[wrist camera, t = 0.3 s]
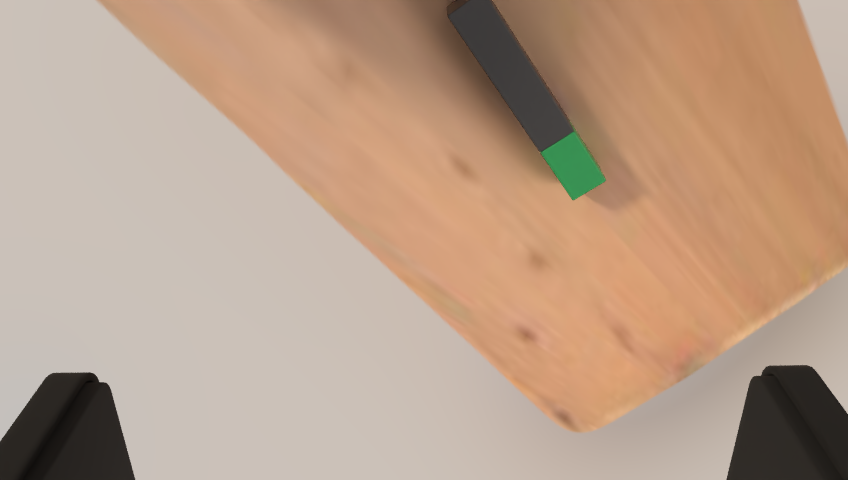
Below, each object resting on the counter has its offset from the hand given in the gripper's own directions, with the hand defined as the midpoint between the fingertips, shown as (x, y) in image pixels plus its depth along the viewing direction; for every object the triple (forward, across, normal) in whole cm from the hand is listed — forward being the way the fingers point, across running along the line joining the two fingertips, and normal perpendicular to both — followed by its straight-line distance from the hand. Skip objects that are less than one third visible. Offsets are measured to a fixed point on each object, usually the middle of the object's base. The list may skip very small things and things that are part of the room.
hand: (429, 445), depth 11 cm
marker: (+37, -6, +6) cm, 38 cm away
